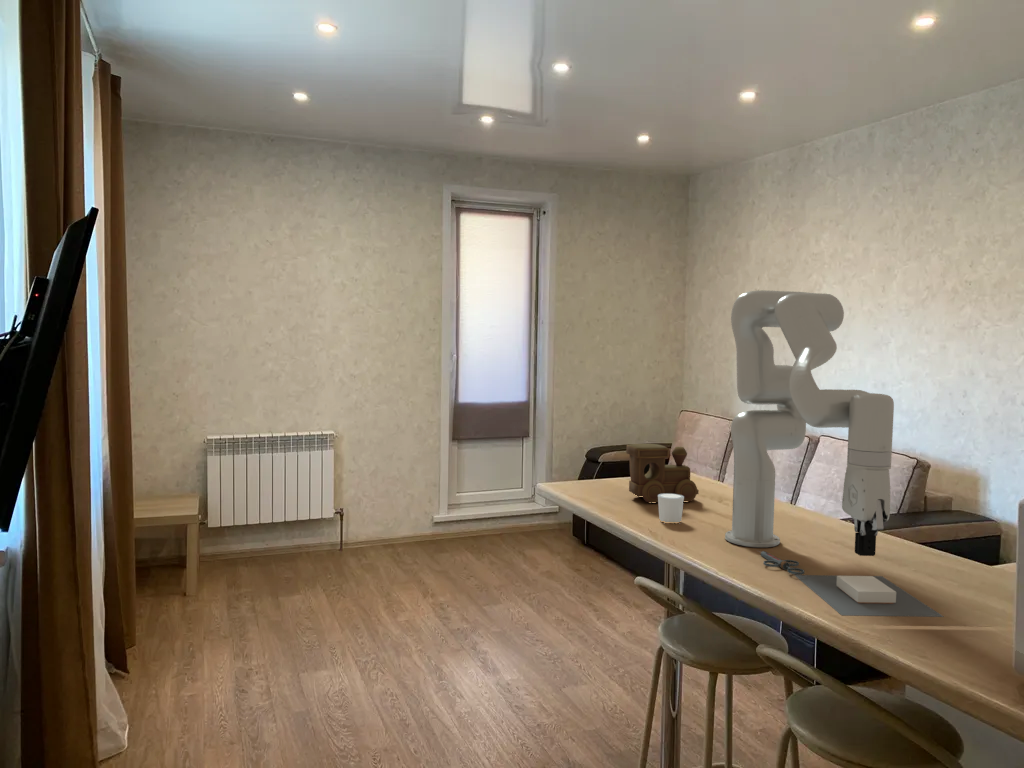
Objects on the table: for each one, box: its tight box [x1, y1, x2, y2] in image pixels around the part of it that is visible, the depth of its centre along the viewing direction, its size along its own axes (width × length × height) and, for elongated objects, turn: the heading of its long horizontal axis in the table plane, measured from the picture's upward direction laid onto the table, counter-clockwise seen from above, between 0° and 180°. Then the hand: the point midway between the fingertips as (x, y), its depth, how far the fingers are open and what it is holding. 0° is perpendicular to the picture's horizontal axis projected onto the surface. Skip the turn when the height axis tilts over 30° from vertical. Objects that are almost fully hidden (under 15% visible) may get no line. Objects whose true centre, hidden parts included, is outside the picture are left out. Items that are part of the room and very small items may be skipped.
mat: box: [794, 574, 944, 618], centre depth 142 cm, size 22×18×1 cm
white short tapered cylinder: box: [657, 493, 684, 522], centre depth 198 cm, size 7×7×7 cm
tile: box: [836, 575, 896, 604], centre depth 141 cm, size 2×7×9 cm
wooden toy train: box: [626, 443, 699, 503], centre depth 223 cm, size 20×11×17 cm, turn 102°
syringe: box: [757, 550, 805, 575], centre depth 160 cm, size 8×18×2 cm, turn 9°
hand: (864, 554), depth 142 cm, fingers closed
